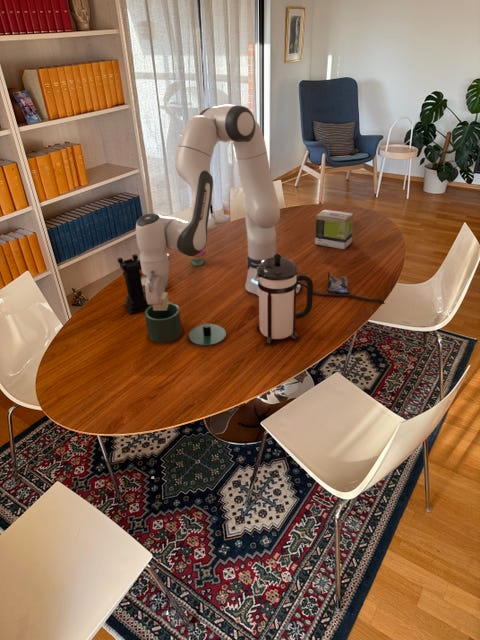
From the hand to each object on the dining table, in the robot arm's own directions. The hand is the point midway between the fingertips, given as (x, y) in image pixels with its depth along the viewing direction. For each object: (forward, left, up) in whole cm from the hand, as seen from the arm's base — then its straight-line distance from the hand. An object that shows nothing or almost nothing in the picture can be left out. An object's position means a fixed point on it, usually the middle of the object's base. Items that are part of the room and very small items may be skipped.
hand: (160, 302), depth 157 cm
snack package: (-64, -31, -13) cm, 72 cm away
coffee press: (-40, 0, -13) cm, 42 cm away
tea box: (-68, -76, -13) cm, 103 cm away
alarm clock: (+11, -34, -13) cm, 38 cm away
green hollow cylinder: (0, 0, -13) cm, 13 cm away
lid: (-15, +2, -12) cm, 19 cm away
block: (0, 0, -2) cm, 2 cm away
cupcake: (-5, -57, -13) cm, 59 cm away
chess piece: (+14, -19, -13) cm, 27 cm away
